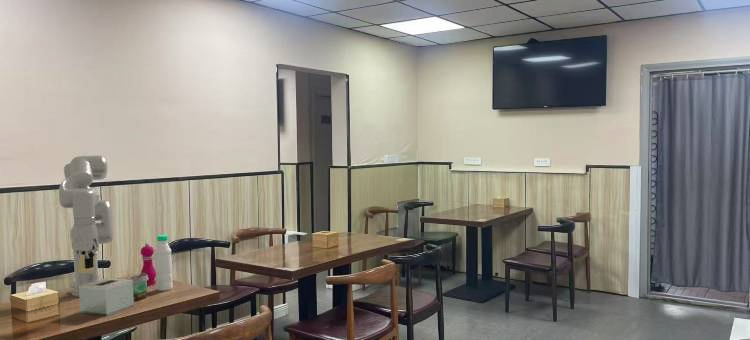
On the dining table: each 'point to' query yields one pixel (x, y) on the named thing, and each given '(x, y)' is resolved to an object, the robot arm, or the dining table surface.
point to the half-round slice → (139, 286)
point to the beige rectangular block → (83, 265)
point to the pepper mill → (148, 264)
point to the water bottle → (163, 264)
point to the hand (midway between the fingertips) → (86, 267)
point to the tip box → (106, 296)
